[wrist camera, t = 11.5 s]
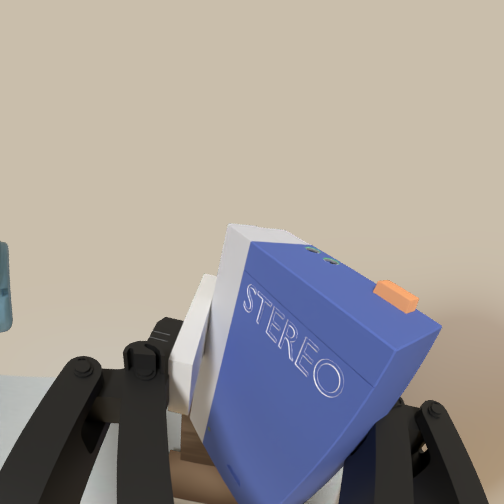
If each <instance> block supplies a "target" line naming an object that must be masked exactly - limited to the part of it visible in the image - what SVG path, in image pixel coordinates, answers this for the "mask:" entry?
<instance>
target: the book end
mask: <svg viewBox="0 0 504 504" xmlns="http://www.w3.org/2000/svg"><path fill="white" fill-rule="evenodd" d="M193 395H194V394H193ZM192 401H193V398H192ZM191 407H192V402H191V406H190V410H189V414H188V415H184V414H182V423H181V452H178V451H174V450H170V453H169V463H170V473H171V482H172V490H173V498H174V504H238V503H237V501H236V500H235V498H234V497H233V495H232V493H231V492H230V490H229V489H228V487H227V485H226V484H225V482H224V480H223V479H222V477H221V475H220V474H219V472H218V470H217V468H216V467H215V465H214V463H213V461H212V460H211V458H210V456H209V454H208V452H207V450H206V449H205V447H204V445H203V443H202V441H201V439H200V437H199V436H198V434H197V432H196V430H195V428H194V426H193V424H192V421H191V419H190V413H191Z"/></svg>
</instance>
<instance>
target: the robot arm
mask: <svg viewBox="0 0 504 504" xmlns="http://www.w3.org/2000/svg"><path fill="white" fill-rule="evenodd" d="M216 279H217V276H215V275H210V274H204V275H203V277H202V280H201V282H200V284H199V287H198V289H197V292H196V294H195V296H194V298H193V301H192V303H191V306H190V308H189V311H188V313H187V316H186V318H185V320H184V321H181V320H177V319H172V318H168V317H165V318H163V319H162V320H160V321H159V322H157V324H156V326H155V328H154V329H153V331H152V333H151V335H150V338H149V339H148V341H137V342H133V343H131V344H129V345H128V346H126V347H125V349H124V351H123V358H124V367H125V368H124V369H102V368H101V365H100V363H99V362H98V361H97V360H95V359H93V358H91V357H87V356H80V357H76V358H73V359H71V360H70V361H69V362H68V363H67V364H66V365H65V367H64V368H63V370H62V371H61V372H60V374H59V375H58V377H57V378H56V380H55V381H54V383H53V384H52V385H51V387H50V388H49V390H48V391H47V393H46V394H45V396H44V398H43V399H42V401H41V402H40V404H39V405H38V407H37V408H36V410H35V412H34V413H33V415H32V416H31V418H30V420H29V421H28V423H27V424H26V426H25V428H24V429H23V431H22V433H21V434H20V436H19V438H18V440H17V441H16V443H15V445H14V447H13V448H12V450H11V452H10V454H9V456H8V457H7V459H6V461H5V463H4V465H3V467H2V469H1V471H0V504H80V501H81V498H82V495H83V493H84V490H85V487H86V484H87V482H88V479H89V476H90V474H91V471H92V468H93V466H94V463H95V461H96V458H97V455H98V453H99V450H100V448H101V445H102V443H103V441H104V438H105V436H106V433H107V431H108V428H109V426H110V424H111V423H119V435H118V454H117V504H174V498H173V490H172V482H171V473H170V463H169V452H168V438H167V422H166V409H167V406H168V411H171V412H175V413H180V414H184V415H188V414H189V410H190V406H191V402H192V398H193V394H194V390H195V386H196V382H197V378H198V374H199V370H200V366H201V362H202V358H203V354H204V348H205V341H206V334H207V327H208V320H209V314H210V309H211V304H212V299H213V294H214V289H215V284H216ZM12 321H13V318H12V305H11V293H10V277H9V251H8V246H7V244H6V243H5V242H0V332H5V331H8V330H9V329H10V328H11V326H12ZM425 443H426V446H427V448H428V449H427V450H426V451H425V452H423V450H422V447H423V445H424V444H425ZM339 504H489V503H488V500H487V498H486V495H485V493H484V490H483V487H482V485H481V483H480V480H479V478H478V475H477V473H476V471H475V468H474V466H473V464H472V462H471V459H470V457H469V455H468V453H467V451H466V449H465V447H464V444H463V443H462V440H461V438H460V436H459V434H458V432H457V430H456V428H455V426H454V424H453V422H452V420H451V419H450V417H449V414H448V413H447V411H446V409H445V408H444V407H443V405H441V404H440V403H438V402H436V401H433V400H428V401H425V402H424V403H423V404H422V405H421V407H420V408H417V407H412V406H408V405H405V404H404V402H403V400H402V398H401V397H400V398H399V399H398V400H397V402H396V403H395V405H394V406H393V407H392V409H391V410H390V411H389V413H388V414H387V415H386V416H384V417H383V418H381V419H380V420H379V421H377V422H376V423H375V424H374V425H373V427H372V428H371V429H370V430H369V432H368V436H367V438H366V440H365V441H364V443H363V444H362V445H361V446H360V447H359V449H358V450H356V451H355V452H353V453H351V454H350V455H349V456H348V457H347V458H346V459H345V460H344V467H343V475H342V483H341V490H340V497H339Z"/></svg>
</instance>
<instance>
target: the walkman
mask: <svg viewBox="0 0 504 504" xmlns="http://www.w3.org/2000/svg"><path fill="white" fill-rule="evenodd" d="M418 301H419V298H418V297H416V296H414V295H413V294H411V293H409V292H407V291H406V290H405V289H403V288H401V287H399V286H398V285H396V284H395V283H393V282H391V281H389V280H383V281H378V282H377V284H375V283H374V282H372V281H371V280H369V279H367V278H366V277H364V276H362V275H361V274H359V273H358V272H356V271H354V270H353V269H351V268H349V267H348V266H346V265H344V264H343V263H341V262H339V261H338V260H336V259H334V258H333V257H331V256H329V255H327V254H326V253H324V252H322V251H321V250H319V249H317V248H316V247H314V246H312V245H310V244H308V243H307V242H305V241H303V240H302V239H300V238H298V237H296V236H294V235H293V234H291V233H289V232H288V231H286V230H281V229H271V228H260V227H257V226H252V225H241V224H231V223H230V224H228V227H227V232H226V236H225V241H224V246H223V250H222V255H221V260H220V264H219V269H218V274H217V279H216V284H215V289H214V294H213V299H212V304H211V309H210V314H209V320H208V327H207V334H206V341H205V348H204V354H203V358H202V362H201V366H200V370H199V374H198V378H197V382H196V386H195V390H194V395H193V401H192V407H191V413H190V419H191V421H192V424H193V426H194V428H195V430H196V432H197V434H198V436H199V437H200V439H201V441H202V443H203V445H204V447H205V449H206V450H207V452H208V454H209V456H210V458H211V460H212V461H213V463H214V465H215V467H216V468H217V470H218V472H219V474H220V475H221V477H222V479H223V480H224V482H225V484H226V485H227V487H228V489H229V490H230V492H231V493H232V495H233V497H234V498H235V500H236V501H237V503H238V504H304V503H305V502H306V501H307V500H308V499H309V498H311V497H312V496H313V495H314V494H315V493H316V492H317V491H318V490H319V489H321V488H322V487H323V486H324V485H325V484H326V483H327V482H328V481H329V480H330V479H331V478H332V477H333V476H334V475H335V474H336V473H337V472H338V471H339V470H340V469H341V468H342V467H343V466H344V460H345V459H346V458H347V457H348V456H349V455H350V454H351V453H353V452H355V451H356V450H358V449H359V447H360V446H361V445H362V444H363V443H364V441H365V440H366V438H367V436H368V432H369V430H370V429H371V428H372V427H373V425H374V424H375V423H376V422H377V421H379V420H380V419H381V418H383V417H384V416H386V415H387V414H388V413H389V411H390V410H391V409H392V407H393V406H394V405H395V403H396V402H397V400H398V399H399V398H400V396H401V395H402V393H403V392H404V390H405V389H406V387H407V386H408V384H409V383H410V381H411V380H412V378H413V376H414V375H415V374H416V372H417V370H418V369H419V367H420V365H421V364H422V362H423V360H424V359H425V357H426V355H427V353H428V352H429V350H430V348H431V347H432V345H433V343H434V341H435V339H436V338H437V336H438V334H439V332H440V330H441V328H442V326H441V325H440V324H438V323H437V322H435V321H434V320H432V319H431V318H429V317H428V316H426V315H424V314H423V313H421V312H420V311H418V310H417V309H416V306H417V303H418Z"/></svg>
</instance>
